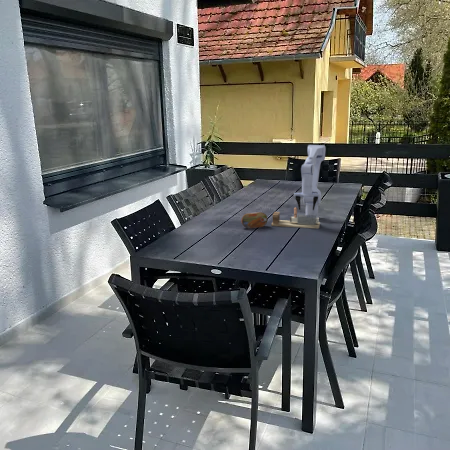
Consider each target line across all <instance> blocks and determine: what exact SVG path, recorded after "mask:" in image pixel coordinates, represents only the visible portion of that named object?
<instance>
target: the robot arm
mask: <svg viewBox="0 0 450 450" xmlns="http://www.w3.org/2000/svg"><path fill="white" fill-rule="evenodd" d="M325 158H326V146H325V144H322V145H321V144H320V145H319V144H308V145H307V157H306V159H305V161H304V162H303V164H301V167H300V173H301V192H294V193H293V197H294V199H295V200H296V204H297V206H298V207H297V208H298V210H301V198H302V202H303V204H305V215H315V216H316V218H319V219H320V216H319V215H318V214H319V205H321V201H322V192H321V190H320V189H319V188H318V184H319V179H320V178H319V177H320V169H321V163H322V162H323V161H325Z"/></svg>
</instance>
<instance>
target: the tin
mask: <svg viewBox="0 0 450 450" xmlns="http://www.w3.org/2000/svg"><path fill="white" fill-rule="evenodd" d="M240 222H241V224H242V226H243V227H244V228H246V229H256V228H263V227H265V226H266V225H267V223H268V216H267V214H266V213H264V212H263V211H262V212H261V211H259V212H257V211H256V212H247V213H245V214H243V215H242V217H241V221H240Z"/></svg>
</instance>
